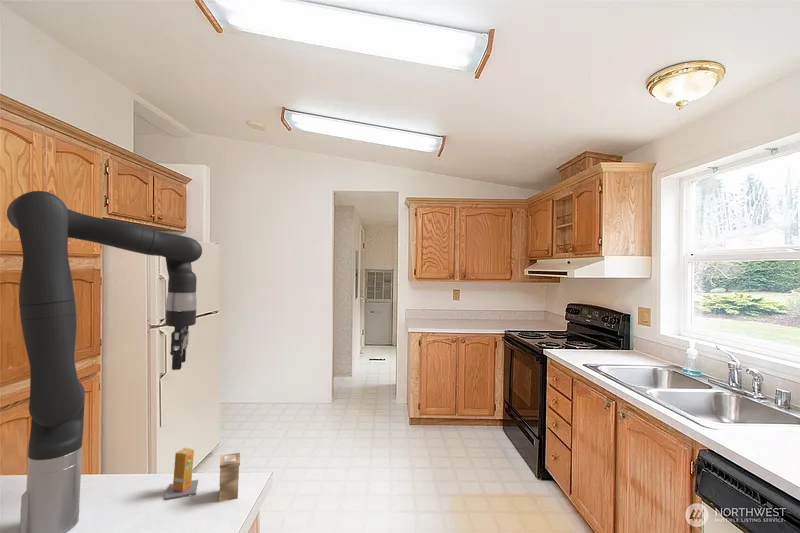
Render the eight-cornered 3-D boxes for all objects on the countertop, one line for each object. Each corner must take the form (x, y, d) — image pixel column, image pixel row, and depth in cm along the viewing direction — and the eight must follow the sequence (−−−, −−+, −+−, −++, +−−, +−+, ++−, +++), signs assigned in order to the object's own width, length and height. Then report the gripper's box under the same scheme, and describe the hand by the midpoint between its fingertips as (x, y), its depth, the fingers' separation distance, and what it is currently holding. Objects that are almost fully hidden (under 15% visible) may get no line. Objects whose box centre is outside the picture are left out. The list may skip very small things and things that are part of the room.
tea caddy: (218, 502, 99) (219, 464, 99) (219, 490, 105) (220, 454, 105) (238, 498, 101) (240, 462, 101) (238, 486, 106) (239, 452, 107)
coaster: (164, 500, 99) (165, 498, 99) (169, 485, 106) (169, 484, 106) (195, 494, 102) (195, 492, 102) (198, 481, 108) (198, 479, 108)
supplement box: (183, 492, 102) (185, 454, 102) (172, 490, 103) (173, 452, 103) (192, 485, 105) (194, 448, 105) (181, 484, 106) (183, 447, 106)
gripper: (170, 306, 115) (168, 361, 115) (161, 311, 102) (158, 373, 102) (198, 306, 118) (196, 359, 118) (193, 310, 105) (190, 371, 104)
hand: (178, 365), depth 110 cm, fingers open, 8 cm apart
